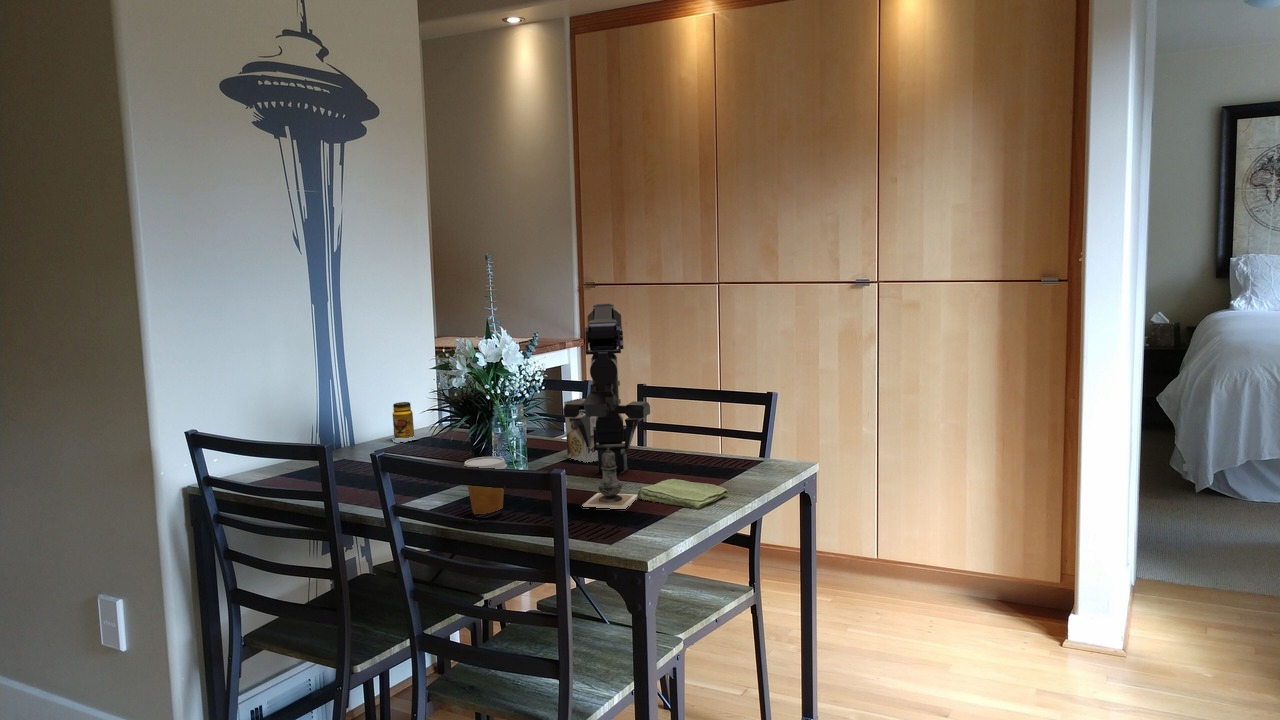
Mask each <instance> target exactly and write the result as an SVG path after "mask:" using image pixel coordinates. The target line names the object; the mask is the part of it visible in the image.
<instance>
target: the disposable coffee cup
mask: <svg viewBox="0 0 1280 720" xmlns="http://www.w3.org/2000/svg"><path fill="white" fill-rule="evenodd" d="M464 466H467V467H479V468H495V469H507V468H508V464H507V463H506V460H505V459H504V457H500V456H481V457H474V458H470V459H467V460H466V461H464V465H463V467H464ZM467 489H468V495H469V501H470V504H471V511H472V514H473V513H474V514H486V513H491V512H495V511H498V510H500V509H502V508H503V509H504V495H505V493H504V492H505V488H504V489H503V488H488V487H477V486H470V485H467Z"/></svg>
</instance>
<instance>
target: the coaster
mask: <svg viewBox="0 0 1280 720" xmlns="http://www.w3.org/2000/svg"><path fill="white" fill-rule="evenodd" d="M617 495H619V496H621V497H622V500H621V501H618V502H612V503H606V502H601V501H599V498H600V497H602V496H604V495H603V494H601V493H600V492H597V493H595V494H594V495H593V496H592V497H590V498H589V499H587V500H586V502H584V503H583V504H582V505H581V507H582V506H583V507H596V508H610V509H626V508H627V507H628V506H629V507H631V505H633V504H632V503H633V502H634V501H635V500H636V501H637V500H638V499H639V497H638V495H637V494H628V493H627V494H626V493H618V494H617ZM636 501H635V502H636ZM635 502H634V503H635ZM629 507H628V508H629ZM628 508H627V509H628ZM610 509H609V510H610ZM627 509H626V510H627Z"/></svg>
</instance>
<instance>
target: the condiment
mask: <svg viewBox="0 0 1280 720" xmlns="http://www.w3.org/2000/svg"><path fill="white" fill-rule="evenodd" d="M392 408H393V409H392V411H393V412H392V424H393V436H394V437H393V439H394V438H409V437H413V436H414V437H415V428H414V414H413V411H412V410H411V409H412V407H411V402H409V401H399V402H395V403H393V405H392Z"/></svg>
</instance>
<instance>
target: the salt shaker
mask: <svg viewBox="0 0 1280 720" xmlns="http://www.w3.org/2000/svg"><path fill="white" fill-rule="evenodd" d="M609 449H610V448H609V447H608V448H607V451H605V452H604V453H603V454H602V462H603V466H602V467H601V468H602V469H603V474H602V479H601V481H600V482H597V484H596V486H597V487H598V491H599V493H601V494H603V495H604V496H602V497H600V498H599V501H601V502H606V503H612V502H618V501H621V500H622V497H621V496H619V495H617V494H620V492H621V491H622V488H623V485H624V482H623V481H621V480H619V479H618V478H617V476H618V475H616V468H617V466H616V465H615V453H614V452H613V451H610V450H609Z"/></svg>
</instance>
